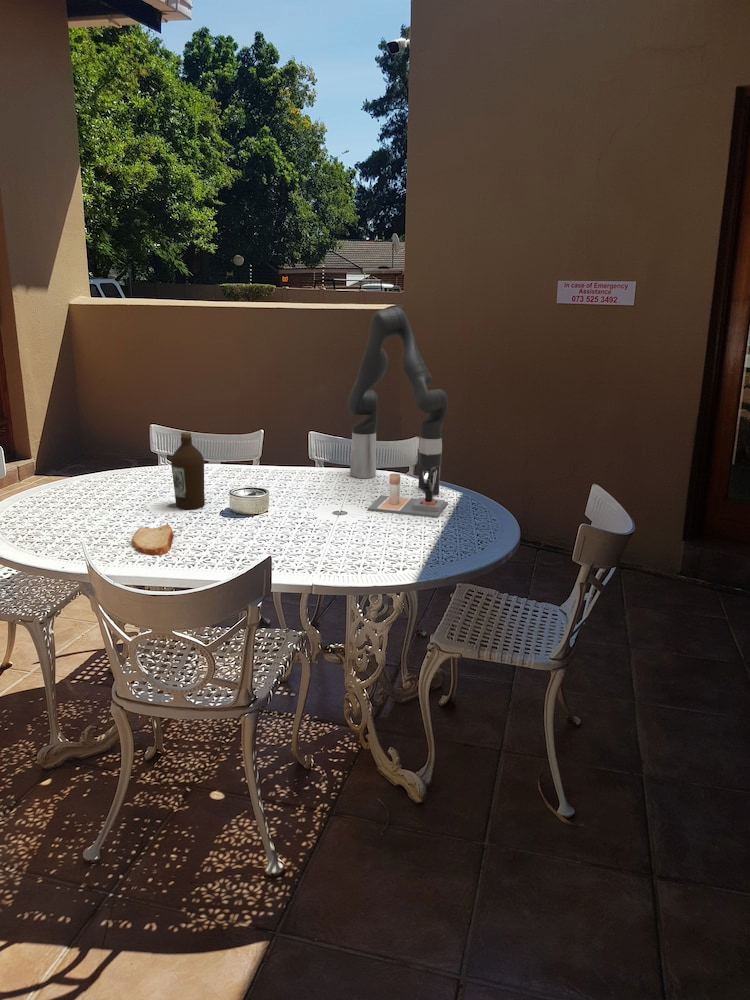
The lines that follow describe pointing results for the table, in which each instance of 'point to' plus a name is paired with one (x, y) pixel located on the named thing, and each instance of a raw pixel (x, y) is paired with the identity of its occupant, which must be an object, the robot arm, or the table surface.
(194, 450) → the olive oil
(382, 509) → the board
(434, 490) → the dark grey upright block
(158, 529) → the bread slice
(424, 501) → the button
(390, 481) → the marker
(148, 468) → the table surface
